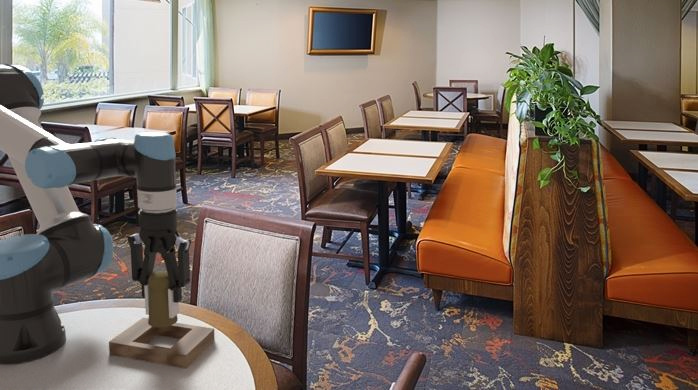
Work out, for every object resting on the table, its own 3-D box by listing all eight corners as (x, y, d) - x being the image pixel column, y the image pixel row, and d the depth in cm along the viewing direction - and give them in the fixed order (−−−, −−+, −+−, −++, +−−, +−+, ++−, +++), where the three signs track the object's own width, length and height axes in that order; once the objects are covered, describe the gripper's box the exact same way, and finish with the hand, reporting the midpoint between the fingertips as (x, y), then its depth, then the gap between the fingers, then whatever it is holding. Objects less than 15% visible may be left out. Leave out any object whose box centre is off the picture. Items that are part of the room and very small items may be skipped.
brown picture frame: (109, 354, 111) (108, 341, 111) (143, 329, 123) (143, 317, 122) (186, 368, 107) (186, 355, 107) (214, 340, 119) (214, 328, 118)
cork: (168, 329, 110) (166, 279, 108) (142, 325, 111) (139, 276, 109) (182, 316, 116) (181, 269, 114) (157, 313, 117) (155, 266, 115)
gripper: (107, 208, 107) (114, 315, 112) (187, 217, 103) (191, 327, 108) (130, 200, 114) (136, 301, 119) (206, 208, 110) (209, 311, 115)
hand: (162, 313), depth 113 cm, fingers closed on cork, 5 cm apart
